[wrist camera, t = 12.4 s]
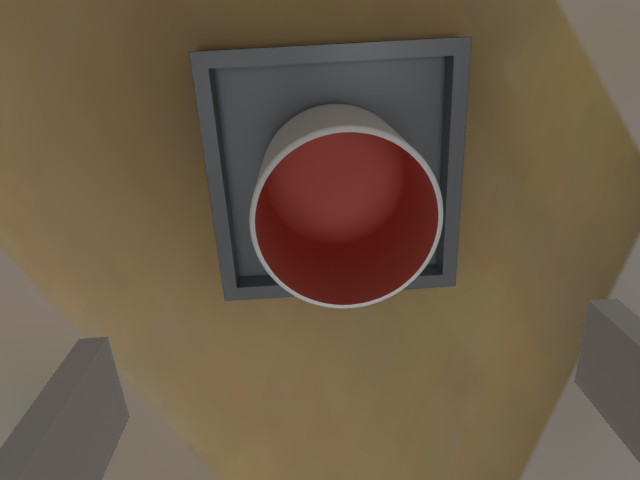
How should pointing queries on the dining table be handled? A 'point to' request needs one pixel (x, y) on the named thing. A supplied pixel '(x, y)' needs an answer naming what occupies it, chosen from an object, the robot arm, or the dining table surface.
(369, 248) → the cup
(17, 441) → the robot arm
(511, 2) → the dining table surface
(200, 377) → the dining table surface
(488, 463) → the dining table surface
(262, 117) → the tray
